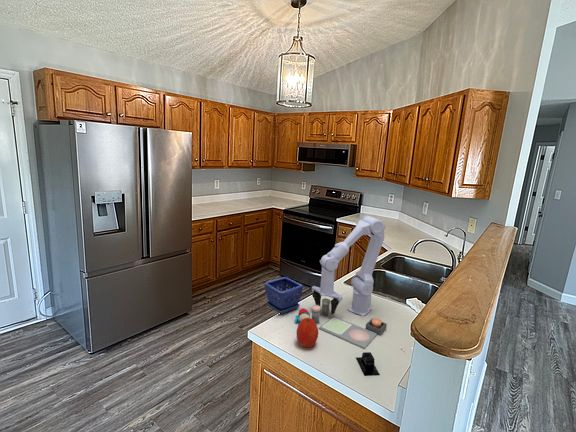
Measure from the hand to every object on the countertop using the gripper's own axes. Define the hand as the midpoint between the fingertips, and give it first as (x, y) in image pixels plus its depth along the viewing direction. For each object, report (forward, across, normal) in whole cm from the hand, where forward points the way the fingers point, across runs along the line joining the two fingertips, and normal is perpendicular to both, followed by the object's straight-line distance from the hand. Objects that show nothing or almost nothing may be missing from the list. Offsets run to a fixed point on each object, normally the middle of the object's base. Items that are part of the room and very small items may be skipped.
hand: (325, 310), depth 137 cm
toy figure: (+2, -2, -13) cm, 13 cm away
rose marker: (+2, 0, -8) cm, 8 cm away
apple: (+2, +6, -23) cm, 24 cm away
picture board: (+2, +14, -6) cm, 15 cm away
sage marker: (+2, 0, 0) cm, 2 cm away
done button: (0, +22, +4) cm, 22 cm away
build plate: (+3, +29, -19) cm, 35 cm away
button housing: (+2, +22, +4) cm, 22 cm away
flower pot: (+2, -18, -8) cm, 20 cm away
